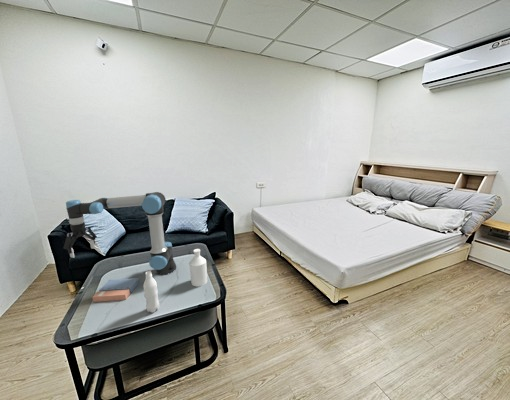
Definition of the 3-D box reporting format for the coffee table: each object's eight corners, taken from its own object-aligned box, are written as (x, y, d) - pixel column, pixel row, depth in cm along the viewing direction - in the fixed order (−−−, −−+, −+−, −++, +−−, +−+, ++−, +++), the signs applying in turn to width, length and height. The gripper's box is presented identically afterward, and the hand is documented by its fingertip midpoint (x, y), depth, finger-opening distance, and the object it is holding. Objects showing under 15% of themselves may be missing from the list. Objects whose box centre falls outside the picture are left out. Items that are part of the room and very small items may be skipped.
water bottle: (149, 305, 133) (144, 269, 127) (161, 305, 133) (156, 268, 128) (144, 314, 126) (139, 276, 120) (157, 313, 126) (152, 275, 121)
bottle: (200, 275, 165) (197, 245, 159) (211, 280, 158) (209, 249, 153) (187, 283, 155) (184, 251, 150) (198, 288, 149) (195, 255, 143)
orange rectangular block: (130, 294, 144) (129, 289, 143) (126, 299, 139) (125, 294, 138) (98, 296, 142) (97, 291, 141) (93, 301, 137) (92, 296, 136)
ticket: (138, 282, 157) (138, 277, 156) (131, 293, 145) (130, 288, 144) (109, 284, 155) (109, 279, 154) (99, 295, 144) (98, 290, 143)
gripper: (91, 217, 155) (96, 244, 160) (51, 229, 132) (58, 260, 137) (99, 218, 153) (104, 245, 158) (60, 230, 130) (67, 262, 135)
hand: (83, 252), depth 147 cm, fingers open, 13 cm apart
